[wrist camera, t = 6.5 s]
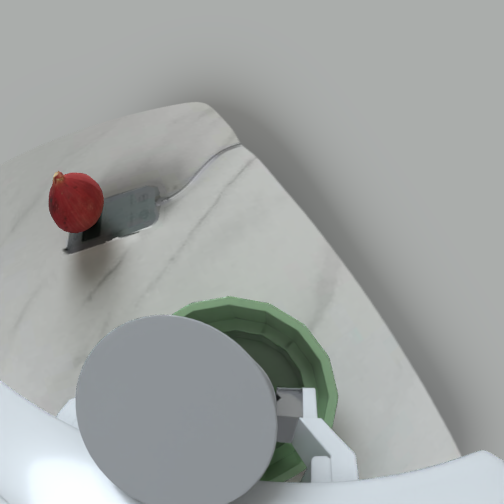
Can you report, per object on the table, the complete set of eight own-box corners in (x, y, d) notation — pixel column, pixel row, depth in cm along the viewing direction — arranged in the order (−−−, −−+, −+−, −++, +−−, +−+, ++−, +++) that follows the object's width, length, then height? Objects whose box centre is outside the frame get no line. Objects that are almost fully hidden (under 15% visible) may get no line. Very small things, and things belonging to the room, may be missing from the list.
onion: (86, 256, 24) (40, 212, 17) (65, 229, 26) (25, 186, 19) (124, 216, 26) (88, 162, 19) (100, 193, 28) (67, 145, 21)
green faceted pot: (326, 336, 20) (349, 315, 14) (298, 473, 15) (310, 506, 9) (186, 311, 21) (157, 280, 16) (154, 439, 16) (112, 454, 11)
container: (285, 389, 18) (334, 400, 4) (245, 438, 16) (189, 548, 3) (233, 352, 19) (153, 266, 6) (193, 399, 18) (43, 406, 4)
